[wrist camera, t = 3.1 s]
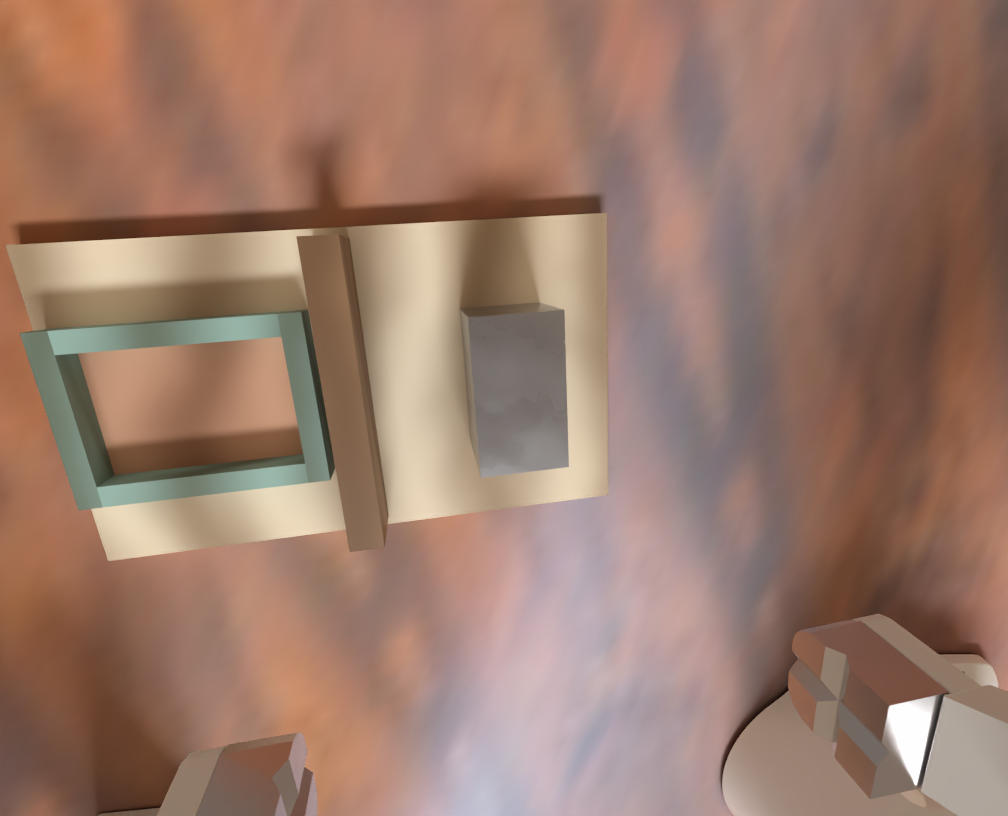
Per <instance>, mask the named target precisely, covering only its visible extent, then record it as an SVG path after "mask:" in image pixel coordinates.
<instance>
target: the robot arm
mask: <svg viewBox="0 0 1008 816" xmlns="http://www.w3.org/2000/svg"><path fill="white" fill-rule="evenodd" d="M792 651H793V652H794V653H795V655H796V656H797V657H798V659H797V661H796V662H795V663H794V665H793V666H792V667H791V669H790V670H789V677H788V689H789V690H788V691H787V692H786V693H785V694H784V695H783V696H782V697H780V698H779V699H778V700H776V701H775V702H773V703H772V704H771V705H770V706H768V707H767V708H766V709H764V710H763V711H762V712H761V713H760V714H759V715H758V716H756V717H755V718H754V719H753V721H752V722H751V723H750V724H749V725H748V726H747V727H746V728H745V729H744V731H743V732H742V733H741V735H740V736H739V738H738V739H737V741H736V742H735V744H734V746H733V747H732V749H731V751H730V753H729V756H728V758H727V761H726V764H725V767H724V772H723V779H722V789H723V795H724V799H725V802H726V804H727V806H728V808H729V809H730V811H731V812H732V813H733V815H734V816H1008V691H1005V690H1002V689H1000V688H998V681H997V677H996V674H995V672H994V670H993V668H992V666H991V665H990V664H989V663H988V662H987V661H985V660H984V659H983V658H982V657H981V656H979V655H974V654H943V655H939V654H938V653H936V652H935V651H934V650H932V649H931V648H930V647H928V646H927V645H926V644H924V643H923V642H921V641H920V640H919V639H917V638H916V637H915V636H913V635H912V634H911V633H909V632H908V631H907V630H905V629H904V628H903V627H901V626H900V625H899V624H897V623H896V622H895V621H893V620H892V619H891V618H888V617H886V616H883V615H881V614H875V615H870V616H865V617H861V618H856V619H852V620H845V621H841V622H836V623H831V624H827V625H822V626H818V627H813V628H808V629H804V630H799V631H798V632H797V633H796V635H795V636H794V637H793V643H792ZM306 755H307V747H306V743H305V740H304V737H303V734H302V733H293V734H288V735H282V736H276V737H270V738H265V739H259V740H253V741H248V742H242V743H236V744H230V745H227V746H223V747H217V748H211V749H206V750H200V751H195V752H190V754H189V755H188V756H187V757H186V758H185V759H184V760H183V762H182V763H181V764H180V766H179V768H178V770H177V772H176V775H175V777H174V779H173V781H172V783H171V785H170V788H169V790H168V792H167V794H166V796H165V798H164V801H163V803H162V805H161V807H160V809H159V812H158V814H157V816H317V791H316V783H315V779H314V775H313V772H311V771H310V770H308V769H307V768H305V767H304V765H305V760H306Z"/></svg>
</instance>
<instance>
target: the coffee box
mask: <svg viewBox="0 0 1008 816" xmlns="http://www.w3.org/2000/svg"><path fill="white" fill-rule="evenodd" d="M159 809H160V808H152V809H141V810H132V811H122V812H112V813H101V814H99V815H98V816H157V814H158V812H159Z"/></svg>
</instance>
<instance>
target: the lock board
mask: <svg viewBox="0 0 1008 816" xmlns="http://www.w3.org/2000/svg"><path fill="white" fill-rule="evenodd" d="M6 248H7V251H8V254H9V257H10V260H11V263H12V266H13V269H14V272H15V275H16V278H17V282H18V285H19V288H20V291H21V294H22V297H23V300H24V303H25V306H26V309H27V312H28V315H29V319H30V322H31V325H32V328H33V331H30V332H24V333H20V335H21V338H22V341H23V344H24V347H25V350H26V353H27V356H28V359H29V362H30V365H31V368H32V371H33V374H34V377H35V380H36V383H37V386H38V389H39V392H40V395H41V398H42V401H43V404H44V407H45V410H46V413H47V416H48V419H49V422H50V425H51V428H52V431H53V434H54V437H55V440H56V443H57V446H58V450H59V453H60V456H61V459H62V462H63V465H64V468H65V471H66V474H67V477H68V480H69V483H70V486H71V489H72V492H73V495H74V498H75V501H76V504H77V507H78V510H86V509H91V510H92V513H93V516H94V519H95V522H96V525H97V528H98V531H99V534H100V537H101V540H102V544H103V547H104V550H105V553H106V556H107V559H108V561H113V560H120V559H128V558H135V557H143V556H151V555H158V554H166V553H173V552H181V551H188V550H196V549H203V548H211V547H218V546H226V545H233V544H241V543H249V542H256V541H264V540H271V539H279V538H286V537H294V536H301V535H309V534H316V533H324V532H331V531H339V530H346V533H347V539H348V545H349V551H350V552H354V551H361V550H369V549H376V548H383V547H385V540H386V532H387V524H392V523H399V522H407V521H414V520H422V519H429V518H437V517H444V516H452V515H459V514H467V513H475V512H482V511H490V510H497V509H505V508H512V507H520V506H527V505H535V504H542V503H550V502H557V501H565V500H573V499H580V498H588V497H595V496H603V495H608V349H607V213H594V214H576V215H557V216H539V217H520V218H501V219H483V220H464V221H446V222H427V223H409V224H390V225H371V226H353V227H334V228H316V229H297V230H279V231H260V232H242V233H223V234H204V235H186V236H167V237H149V238H130V239H112V240H93V241H74V242H56V243H37V244H19V245H6ZM538 302H540V303H544V304H547V305H550V306H554V307H557V308H560V309H564V312H565V347H566V382H567V417H568V452H569V467H565V468H557V469H549V470H541V471H532V472H524V473H516V474H508V475H500V476H492V477H484V478H481V476H480V473H479V469H478V466H477V462H476V459H475V455H474V452H473V448H472V445H471V436H470V425H469V413H468V401H467V390H466V378H465V367H464V355H463V344H462V332H461V320H460V308H473V307H486V306H499V305H512V304H525V303H538Z"/></svg>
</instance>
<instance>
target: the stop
mask: <svg viewBox="0 0 1008 816" xmlns="http://www.w3.org/2000/svg"><path fill="white" fill-rule="evenodd" d="M460 320H461V332H462V344H463V355H464V367H465V378H466V390H467V401H468V413H469V425H470V436H471V445H472V448H473V452H474V455H475V459H476V462H477V466H478V469H479V473H480V476H481V478H484V477H492V476H500V475H508V474H516V473H524V472H532V471H541V470H549V469H557V468H565V467H569V452H568V417H567V382H566V347H565V312H564V309H560V308H557V307H554V306H550V305H547V304H544V303H540V302H538V303H525V304H512V305H499V306H486V307H473V308H460Z"/></svg>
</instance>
